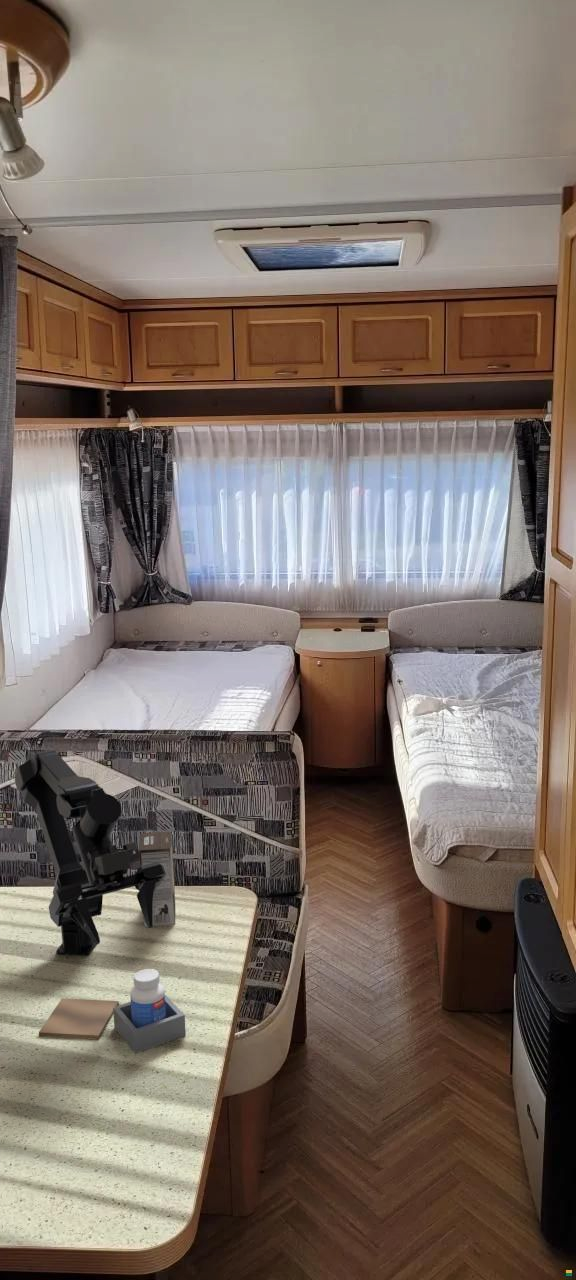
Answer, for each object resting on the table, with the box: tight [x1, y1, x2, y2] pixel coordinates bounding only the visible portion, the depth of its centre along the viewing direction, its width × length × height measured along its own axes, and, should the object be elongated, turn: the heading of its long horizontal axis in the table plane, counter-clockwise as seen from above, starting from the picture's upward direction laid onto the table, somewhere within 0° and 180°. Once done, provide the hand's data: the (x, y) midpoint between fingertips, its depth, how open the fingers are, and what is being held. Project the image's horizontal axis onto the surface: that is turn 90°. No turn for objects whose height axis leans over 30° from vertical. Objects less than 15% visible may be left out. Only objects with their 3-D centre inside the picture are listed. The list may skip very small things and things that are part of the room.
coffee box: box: [138, 831, 176, 927], centre depth 194 cm, size 9×6×16 cm
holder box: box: [112, 994, 187, 1055], centre depth 155 cm, size 9×9×4 cm
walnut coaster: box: [38, 997, 120, 1040], centre depth 159 cm, size 10×10×1 cm
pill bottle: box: [129, 968, 166, 1029], centre depth 155 cm, size 6×5×10 cm
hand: (125, 935), depth 160 cm, fingers open, 9 cm apart
